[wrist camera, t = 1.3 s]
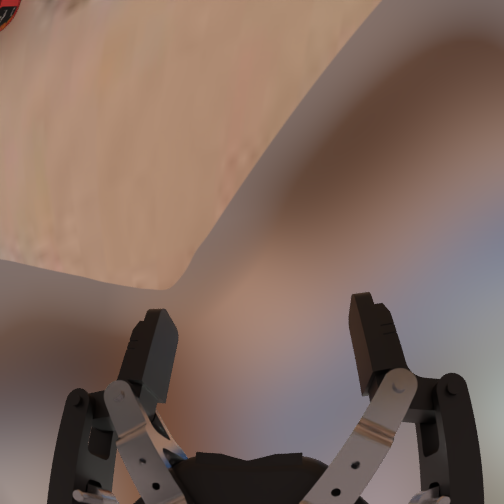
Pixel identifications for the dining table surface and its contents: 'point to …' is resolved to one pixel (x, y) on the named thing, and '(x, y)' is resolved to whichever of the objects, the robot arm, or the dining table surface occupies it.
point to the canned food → (7, 11)
